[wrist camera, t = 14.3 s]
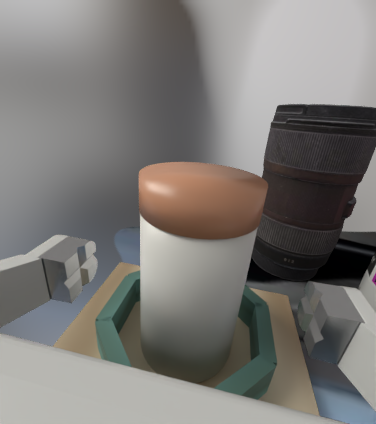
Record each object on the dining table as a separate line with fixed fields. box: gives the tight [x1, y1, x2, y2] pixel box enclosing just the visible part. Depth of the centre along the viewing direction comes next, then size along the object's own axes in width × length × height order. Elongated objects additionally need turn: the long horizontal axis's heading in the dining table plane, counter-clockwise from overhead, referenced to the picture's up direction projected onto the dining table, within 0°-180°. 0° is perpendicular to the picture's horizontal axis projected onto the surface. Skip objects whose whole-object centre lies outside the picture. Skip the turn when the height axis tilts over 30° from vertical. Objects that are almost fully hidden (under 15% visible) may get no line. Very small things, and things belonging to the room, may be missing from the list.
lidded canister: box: [139, 162, 268, 383], centre depth 12 cm, size 6×6×10 cm
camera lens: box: [251, 104, 376, 281], centre depth 22 cm, size 8×8×15 cm
